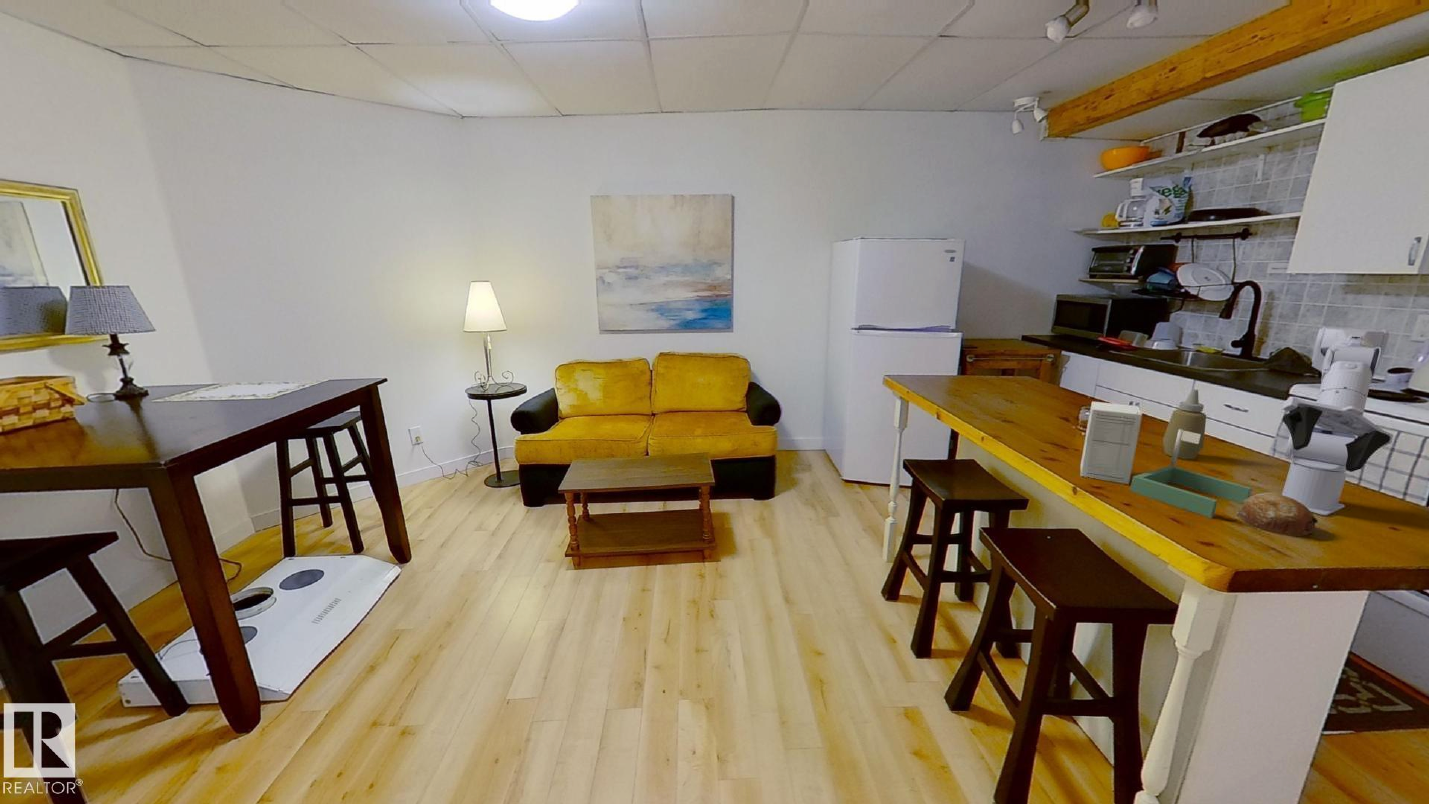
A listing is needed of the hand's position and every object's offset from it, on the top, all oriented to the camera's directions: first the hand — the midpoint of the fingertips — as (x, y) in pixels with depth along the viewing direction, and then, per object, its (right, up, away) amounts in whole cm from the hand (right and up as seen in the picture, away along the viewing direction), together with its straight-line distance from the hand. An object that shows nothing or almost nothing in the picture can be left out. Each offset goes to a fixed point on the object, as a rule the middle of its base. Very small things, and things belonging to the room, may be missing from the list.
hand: (1326, 458), depth 91 cm
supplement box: (-14, -8, +34) cm, 37 cm away
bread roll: (+1, -14, +9) cm, 17 cm away
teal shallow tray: (-5, -11, +21) cm, 24 cm away
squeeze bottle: (+16, -5, +46) cm, 49 cm away
